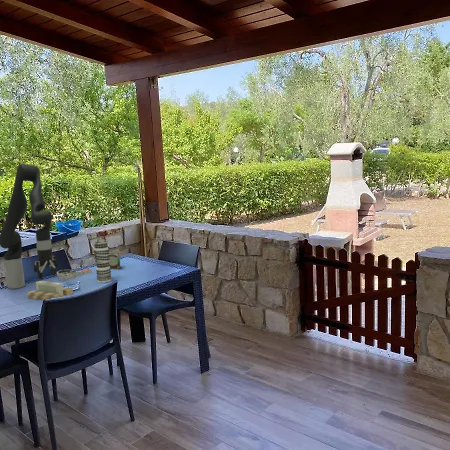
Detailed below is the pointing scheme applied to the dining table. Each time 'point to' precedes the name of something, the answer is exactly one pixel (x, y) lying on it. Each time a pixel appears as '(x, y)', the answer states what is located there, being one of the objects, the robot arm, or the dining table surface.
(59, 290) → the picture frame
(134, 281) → the dining table surface
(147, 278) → the dining table surface
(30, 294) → the tan bumpy slab
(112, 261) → the food container
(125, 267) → the dining table surface
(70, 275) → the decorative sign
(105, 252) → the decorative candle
